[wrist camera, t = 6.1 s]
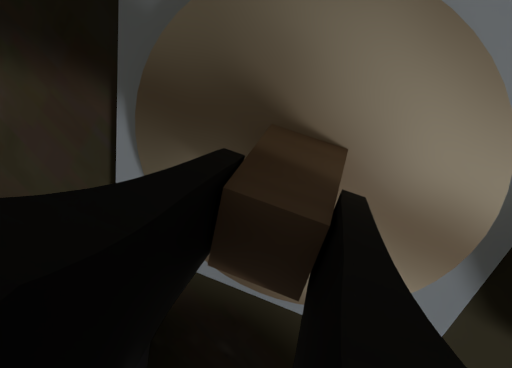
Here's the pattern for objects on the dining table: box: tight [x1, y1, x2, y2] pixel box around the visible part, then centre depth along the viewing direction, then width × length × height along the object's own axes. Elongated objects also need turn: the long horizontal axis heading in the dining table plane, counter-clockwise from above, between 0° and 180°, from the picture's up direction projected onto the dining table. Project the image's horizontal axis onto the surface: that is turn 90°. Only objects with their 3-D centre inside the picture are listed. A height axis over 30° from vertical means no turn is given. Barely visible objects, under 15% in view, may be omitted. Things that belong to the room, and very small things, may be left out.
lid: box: [135, 0, 512, 305], centre depth 11 cm, size 12×12×5 cm
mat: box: [116, 0, 512, 337], centre depth 13 cm, size 14×14×1 cm
